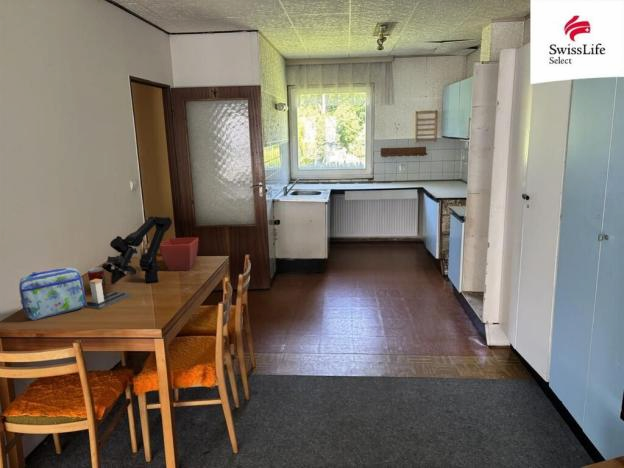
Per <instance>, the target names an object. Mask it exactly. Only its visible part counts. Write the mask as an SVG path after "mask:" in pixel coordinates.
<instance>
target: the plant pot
mask: <svg viewBox="0 0 624 468" xmlns="http://www.w3.org/2000/svg"><path fill="white" fill-rule="evenodd" d="M198 249H199V237H177V238H176V237H174V238H170V237H169V238H167V239H166V240H164V241H163V242H161V244H160V246H159V249H158V250H159V252H160V255H161V258H162V260H163V262H164V264H165V267H166V268H167V271H169V272H171V271H174V272H175V271H189V270H191V269H192V268H193V267H194V266H195V264H196V261H197V256H198Z"/></svg>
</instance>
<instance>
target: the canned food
mask: <svg viewBox="0 0 624 468" xmlns="http://www.w3.org/2000/svg"><path fill="white" fill-rule="evenodd" d="M87 275H88V282H89V281H91V280H94V279H102V282H101V283H102V290H103V291H104V290H105V289H106V288H107V285H106V278H105V269H103V268H102V266H101V267H100V266H99V267H98V266H97V267H96V266H95V267H91V268H88V269H87ZM89 287H90V290H91V285H90V284H89Z"/></svg>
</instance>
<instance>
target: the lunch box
mask: <svg viewBox="0 0 624 468" xmlns="http://www.w3.org/2000/svg"><path fill="white" fill-rule="evenodd" d="M83 283H84V282H83V278H82V276H81V274H80V272H79V270H78V269H76V268H74V267H62V268H61V267H60V268H55V269H50V270H45V271H39V272H34V271H32V273H31V274H27V275H24V276H23V277H21V278H20V279H19V283H18V284H19V286H18V287H19V289H18V291H19V296H20V297H19V298H20V304H21V305H22V310H23V312H24V314H25V316H26V317H27V318H28V319H30V320H31V321H37V319H38V320H41V319H44V318H47V317H48V318H49V317H53V316H56V315H60V314H65V313H68V312H69V313H70V312H72V311H76V310H80V309H82V308H85V307H84V306H85V303H87V299H86V296H85V295H86V294H85V293H86V292H85V289H84V284H83Z"/></svg>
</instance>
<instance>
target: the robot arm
mask: <svg viewBox="0 0 624 468" xmlns="http://www.w3.org/2000/svg"><path fill="white" fill-rule="evenodd" d="M172 223H173V222H172V219H171V218H170V216H155V215H154V216H153V215H150V216H149V217H148V218H147V220H145V222H144V223H142V224H141V226H140V227H139V228H138V229H137V230H135V231H133V232H132V233H129V234H128V235H126V237H125V238H123V237H122V236H119V235H117V236H116V237H115V238H113V239H112V240H111V241H110V243H109V246H110V247H111V248H112V249H113V250H115V252H117V253H120V254H119V255H116V256H107V258H106V263H105V262H104V263H103V264H102V266H101V267H102V268H103V270H104V271H106V272H107V273H110V274H111V278H110V284H111V285H115V284H116V283H117V282H119V281H120V280H121V279H122V278H124V277H126V276H127V272H128V273H130V275H131V276H136V274H137V273H138V271H137V269H136V268H135V267H133V266H132V265H129V264H131V263H132V260H131V259H132V257H133V255H134V254H138V251H137V248H139V247H140V246H141V244H142V242H143V241H144V237H145V236H146V235H147V234H148V233H149V232H150V231H151V230H152V228H154V227H155V232H154V234H153V237H152V240H151V242H150V244H149V248H148V249H147V252H146V253H145V254H143V253H142V254H141V256H140V259H139V261H138V262H139V264H138V265H139V268H140V269H141V271H142V272H144V273H143V274H144V282H145V284H152V283H153V284H154V283H158V282H159V276H158V272H159V271H160V270H161V266H160V265H159V264H157V263H158V259H157V254H158V251H159V250H160V249H159V246H160V244H161V243H162V241H163V238H164V235H165V233H166V232H167V231H169V229H170V228H171V226H172ZM134 247H135V248H134ZM136 247H137V248H136Z"/></svg>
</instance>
